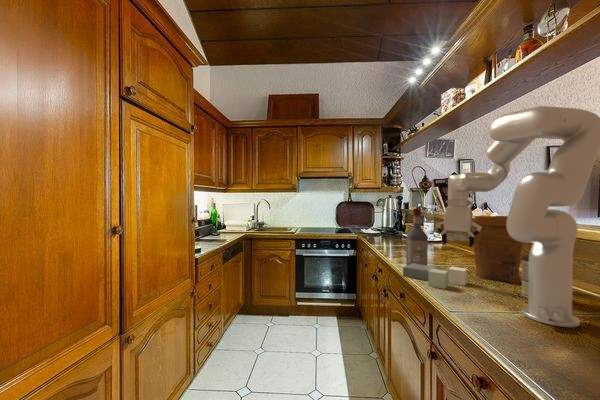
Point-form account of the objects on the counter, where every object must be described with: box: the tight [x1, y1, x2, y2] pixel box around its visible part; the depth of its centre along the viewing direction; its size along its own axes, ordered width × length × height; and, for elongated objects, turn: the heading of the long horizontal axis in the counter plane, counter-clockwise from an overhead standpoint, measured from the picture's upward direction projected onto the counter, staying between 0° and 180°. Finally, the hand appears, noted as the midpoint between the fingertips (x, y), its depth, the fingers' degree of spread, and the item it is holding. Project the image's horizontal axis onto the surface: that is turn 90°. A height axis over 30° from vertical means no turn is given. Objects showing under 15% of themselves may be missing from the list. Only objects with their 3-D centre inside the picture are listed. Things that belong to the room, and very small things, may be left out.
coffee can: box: [520, 254, 529, 299], centre depth 100 cm, size 10×10×14 cm
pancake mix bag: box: [472, 215, 524, 284], centre depth 123 cm, size 7×19×28 cm, turn 50°
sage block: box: [427, 268, 449, 290], centre depth 113 cm, size 6×6×6 cm
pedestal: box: [402, 263, 440, 282], centre depth 128 cm, size 12×12×4 cm
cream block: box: [447, 265, 468, 287], centre depth 117 cm, size 6×6×6 cm
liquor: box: [405, 208, 429, 266], centre depth 144 cm, size 9×9×30 cm
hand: (457, 245), depth 117 cm, fingers open, 9 cm apart
